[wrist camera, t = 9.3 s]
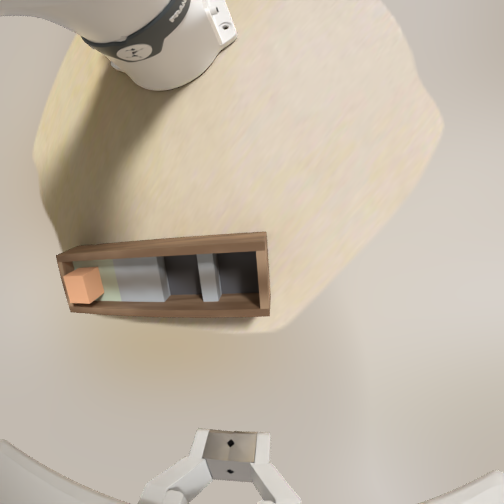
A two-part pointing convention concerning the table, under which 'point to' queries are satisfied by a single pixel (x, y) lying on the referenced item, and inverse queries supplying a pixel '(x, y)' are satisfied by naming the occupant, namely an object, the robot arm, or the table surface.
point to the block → (84, 285)
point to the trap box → (177, 276)
